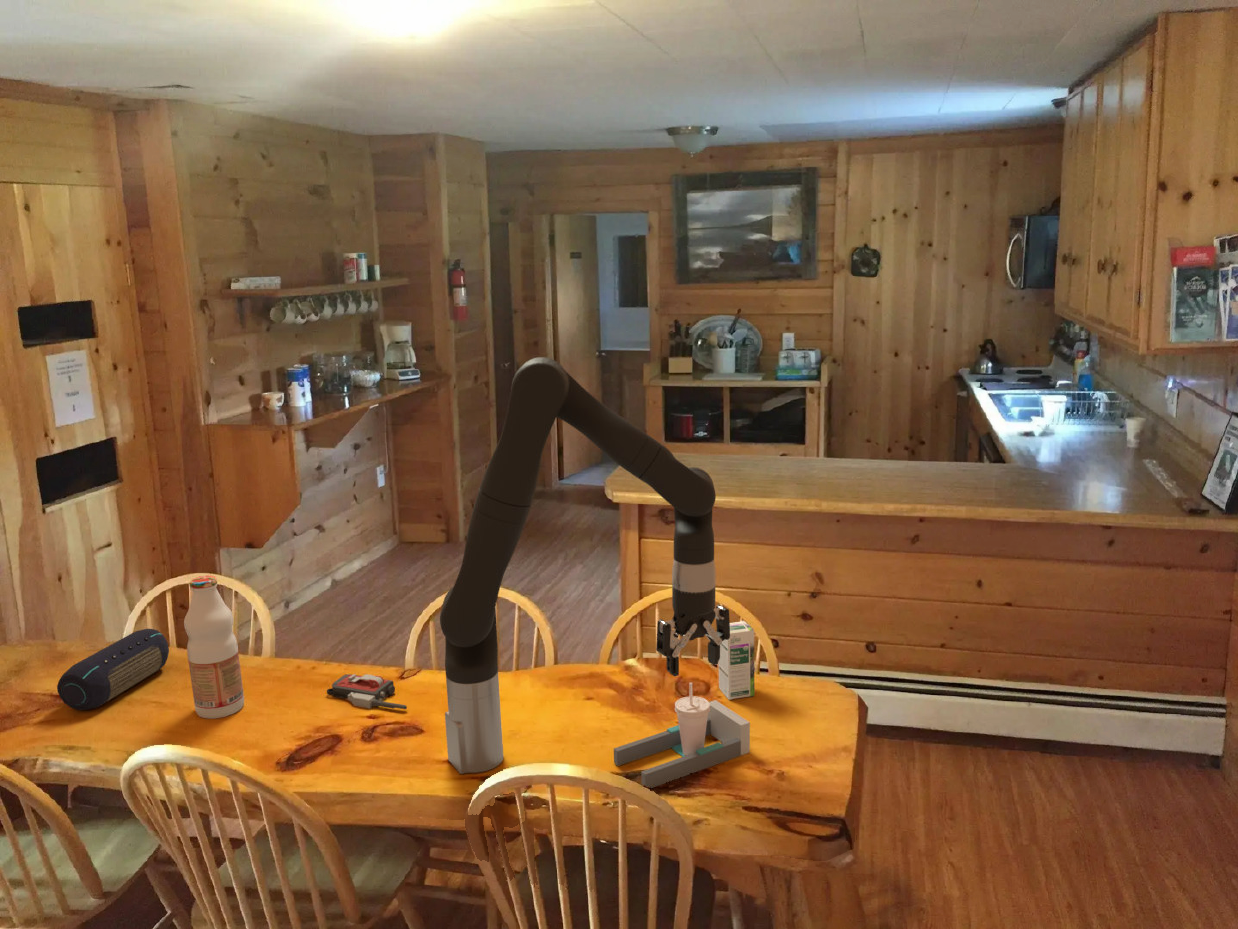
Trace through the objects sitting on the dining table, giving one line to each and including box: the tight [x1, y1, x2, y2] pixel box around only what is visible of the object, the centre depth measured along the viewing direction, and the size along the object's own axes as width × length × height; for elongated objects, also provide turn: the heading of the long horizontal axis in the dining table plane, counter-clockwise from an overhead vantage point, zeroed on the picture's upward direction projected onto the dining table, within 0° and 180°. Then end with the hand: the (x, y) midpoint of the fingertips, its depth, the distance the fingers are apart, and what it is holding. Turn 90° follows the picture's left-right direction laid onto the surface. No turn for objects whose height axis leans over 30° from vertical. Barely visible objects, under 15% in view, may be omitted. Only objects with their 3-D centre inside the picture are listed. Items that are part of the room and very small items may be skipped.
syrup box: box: [718, 620, 755, 701], centre depth 204 cm, size 6×6×14 cm
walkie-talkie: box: [326, 673, 408, 710], centre depth 207 cm, size 9×4×20 cm
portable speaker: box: [56, 628, 170, 711], centre depth 213 cm, size 25×10×10 cm, turn 164°
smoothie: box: [674, 682, 710, 756], centre depth 181 cm, size 6×6×14 cm
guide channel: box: [613, 699, 751, 789], centre depth 180 cm, size 22×11×6 cm, turn 121°
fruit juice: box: [183, 574, 245, 719], centre depth 201 cm, size 9×9×28 cm
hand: (693, 668), depth 178 cm, fingers open, 8 cm apart
